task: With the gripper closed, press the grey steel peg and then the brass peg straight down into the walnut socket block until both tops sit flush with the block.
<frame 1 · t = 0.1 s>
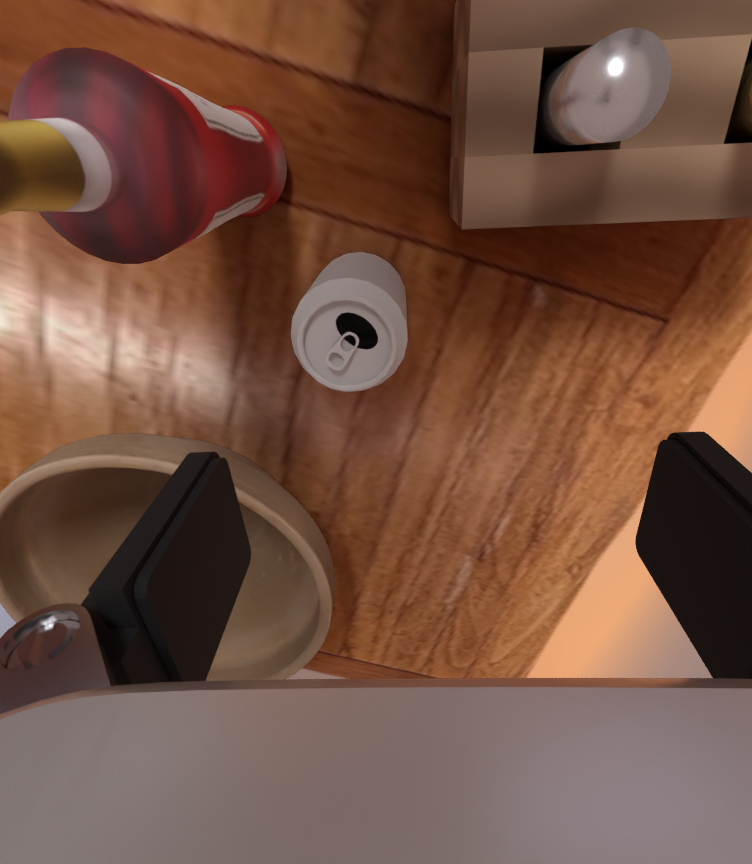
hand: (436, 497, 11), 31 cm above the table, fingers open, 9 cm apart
brown mixing bowl: (213, 501, 51), on the table
liquor: (244, 163, 35), on the table
socket block: (614, 110, 32), on the table
can: (361, 297, 40), on the table
steel peg: (587, 98, 24), point 10 cm above the table, slide at 5.0 cm
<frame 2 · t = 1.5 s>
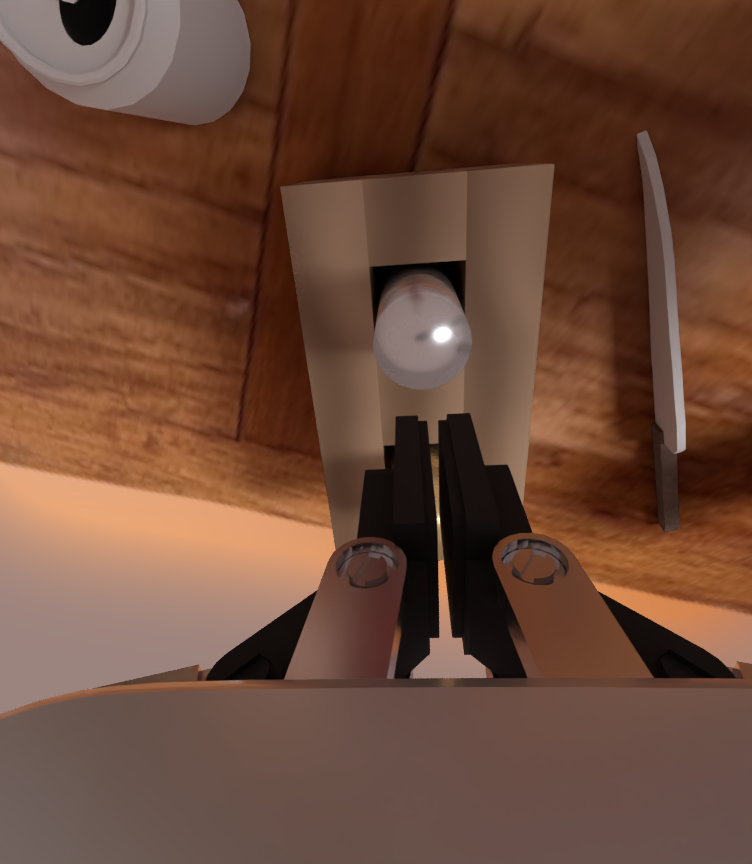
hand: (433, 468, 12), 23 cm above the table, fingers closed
socket block: (417, 346, 34), on the table
can: (189, 46, 27), on the table
brass peg: (424, 484, 28), point 10 cm above the table, slide at 5.0 cm
kitchen knife: (653, 361, 34), on the table
steel peg: (419, 315, 23), point 10 cm above the table, slide at 5.0 cm
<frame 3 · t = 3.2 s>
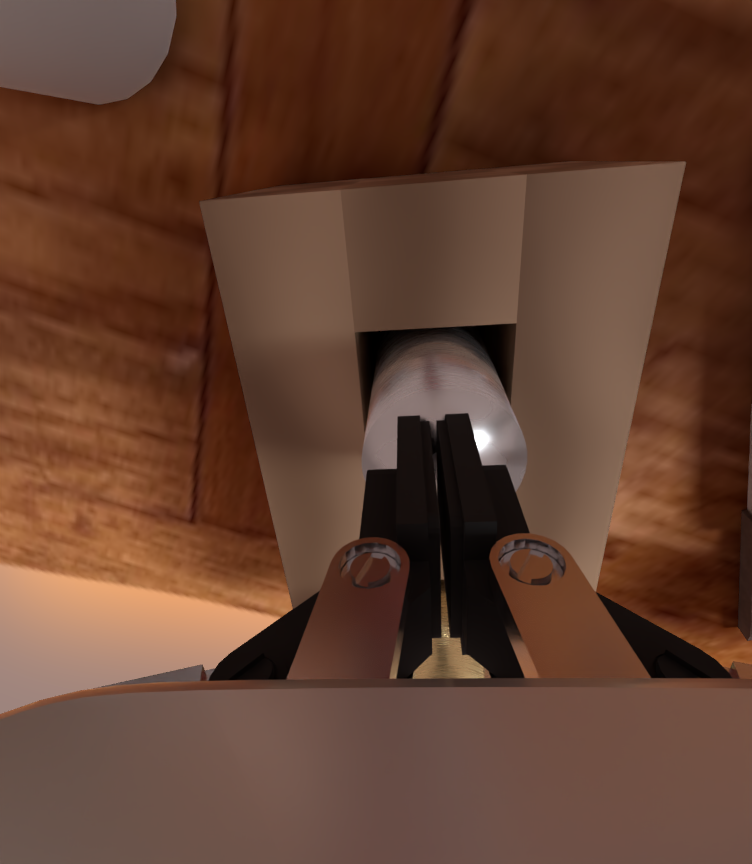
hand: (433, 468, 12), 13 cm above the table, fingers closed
socket block: (427, 411, 25), on the table
brass peg: (440, 635, 19), point 10 cm above the table, slide at 5.0 cm
kitchen knife: (750, 431, 25), on the table
steel peg: (434, 391, 15), point 8 cm above the table, slide at 3.6 cm, touching gripper
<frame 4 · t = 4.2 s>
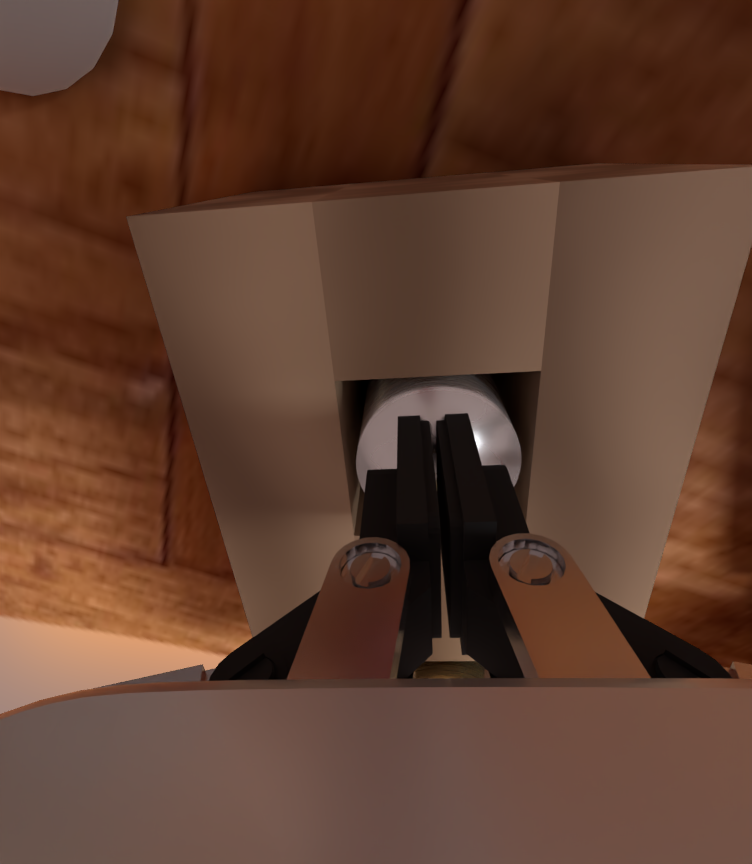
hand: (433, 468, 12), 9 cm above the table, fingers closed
socket block: (426, 447, 22), on the table
brass peg: (442, 725, 16), point 10 cm above the table, slide at 5.0 cm
steel peg: (429, 393, 15), point 5 cm above the table, slide at 0.2 cm, touching gripper
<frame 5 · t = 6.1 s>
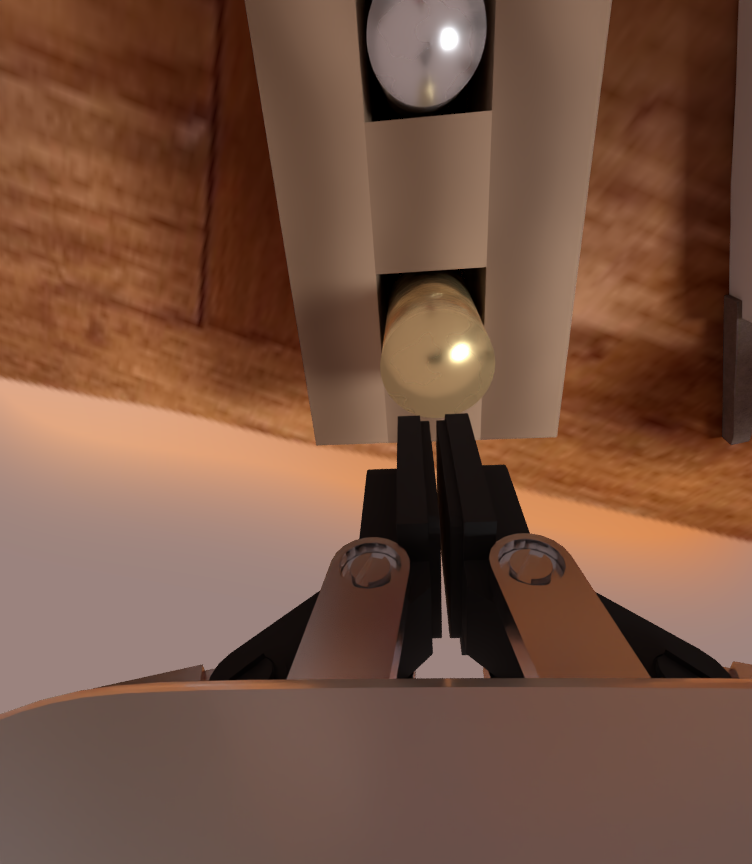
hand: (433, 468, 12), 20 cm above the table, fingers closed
socket block: (423, 186, 26), on the table
brass peg: (432, 329, 20), point 10 cm above the table, slide at 5.0 cm
kitchen knife: (730, 205, 26), on the table
steel peg: (422, 57, 20), point 5 cm above the table, slide at 0.2 cm
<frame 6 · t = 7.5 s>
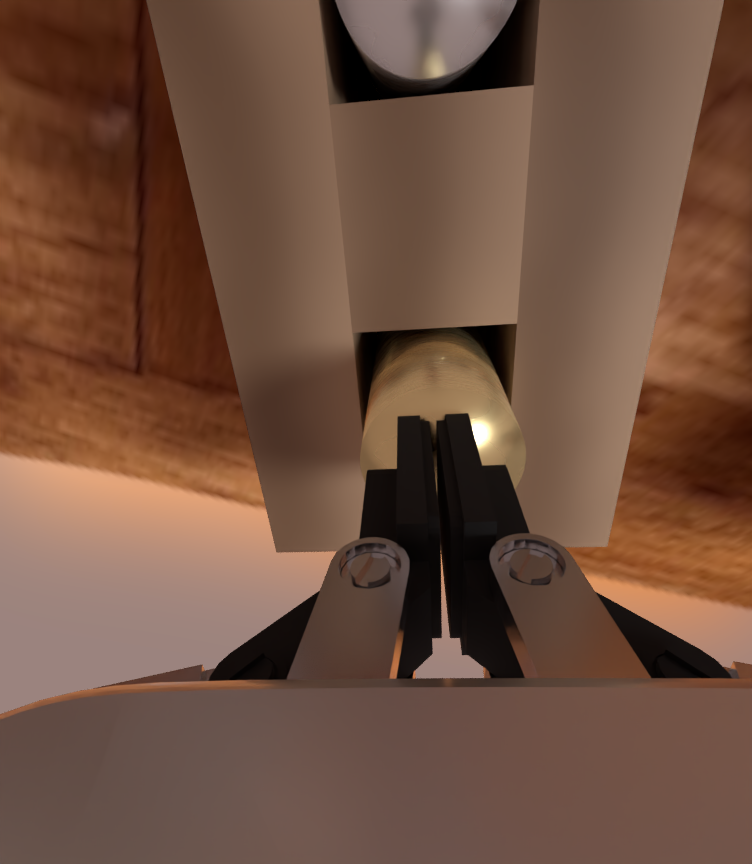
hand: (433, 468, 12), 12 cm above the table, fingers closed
socket block: (421, 198, 20), on the table
brass peg: (433, 389, 15), point 8 cm above the table, slide at 3.4 cm, touching gripper
steel peg: (421, 11, 13), point 5 cm above the table, slide at 0.2 cm
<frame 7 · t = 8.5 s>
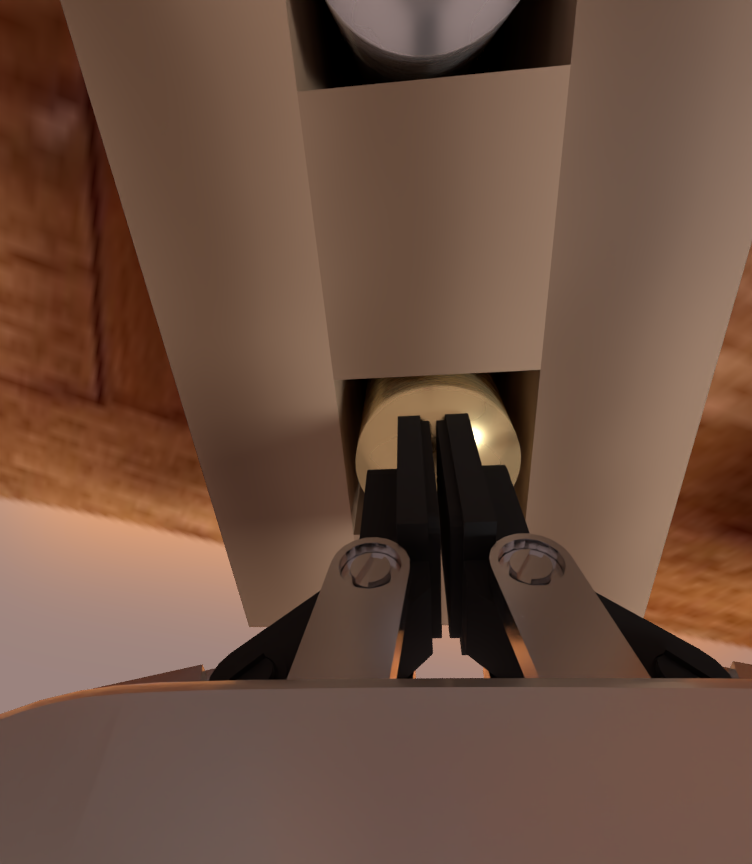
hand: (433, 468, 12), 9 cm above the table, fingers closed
socket block: (419, 208, 17), on the table
brass peg: (428, 392, 15), point 5 cm above the table, slide at 0.2 cm, touching gripper
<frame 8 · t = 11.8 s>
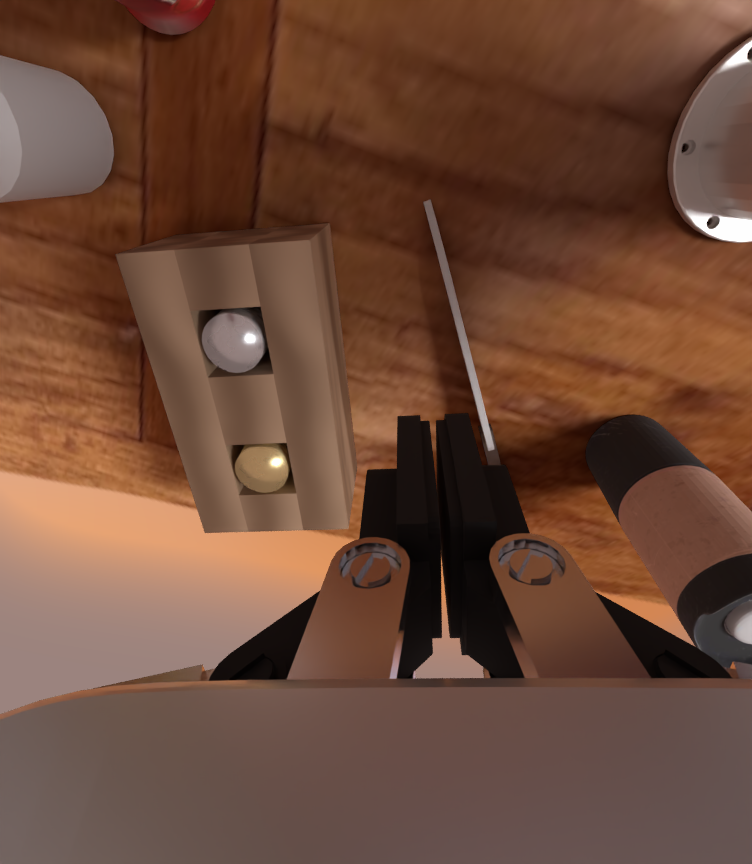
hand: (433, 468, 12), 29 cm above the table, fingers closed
socket block: (277, 364, 42), on the table
travel mug: (623, 447, 45), on the table
can: (68, 135, 34), on the table
brass peg: (274, 442, 40), point 5 cm above the table, slide at 0.2 cm
kitchen knife: (471, 375, 42), on the table
steel peg: (250, 325, 35), point 5 cm above the table, slide at 0.2 cm
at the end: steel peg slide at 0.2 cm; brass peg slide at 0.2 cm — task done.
